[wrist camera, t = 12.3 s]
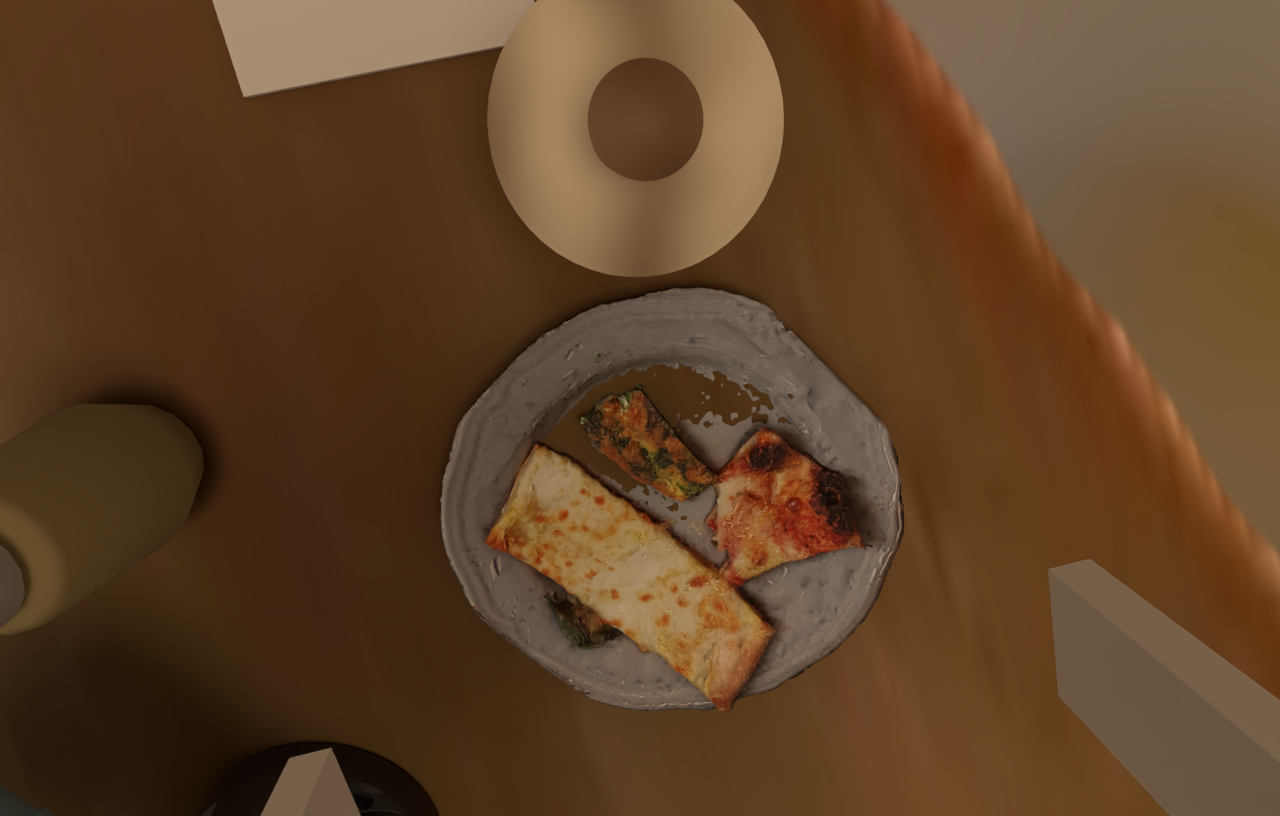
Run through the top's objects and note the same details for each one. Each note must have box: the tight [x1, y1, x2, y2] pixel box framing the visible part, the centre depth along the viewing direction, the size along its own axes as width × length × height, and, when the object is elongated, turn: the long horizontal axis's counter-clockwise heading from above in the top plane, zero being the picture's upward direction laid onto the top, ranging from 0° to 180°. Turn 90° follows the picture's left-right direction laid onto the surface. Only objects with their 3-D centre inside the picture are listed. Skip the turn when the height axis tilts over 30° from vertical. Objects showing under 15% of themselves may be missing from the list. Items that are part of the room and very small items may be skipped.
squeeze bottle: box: [0, 404, 204, 635], centre depth 33 cm, size 8×8×18 cm
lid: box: [487, 0, 784, 277], centre depth 24 cm, size 10×10×6 cm
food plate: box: [440, 288, 904, 714], centre depth 43 cm, size 25×23×4 cm
